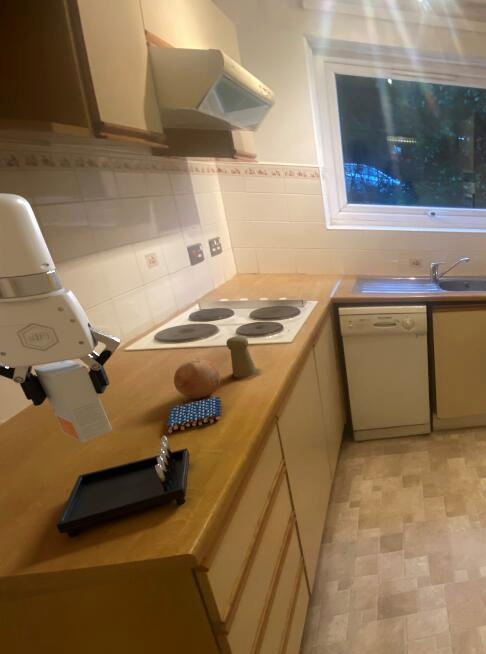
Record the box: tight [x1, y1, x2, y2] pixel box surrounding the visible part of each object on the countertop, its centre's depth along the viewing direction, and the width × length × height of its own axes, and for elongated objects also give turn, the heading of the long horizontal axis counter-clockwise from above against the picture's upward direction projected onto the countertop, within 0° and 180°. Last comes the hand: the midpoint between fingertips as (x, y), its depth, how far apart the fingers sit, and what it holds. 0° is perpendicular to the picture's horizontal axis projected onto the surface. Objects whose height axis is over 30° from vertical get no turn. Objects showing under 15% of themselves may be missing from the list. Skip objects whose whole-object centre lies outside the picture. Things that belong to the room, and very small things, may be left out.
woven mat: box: [165, 396, 222, 434], centre depth 102 cm, size 10×11×2 cm
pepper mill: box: [226, 335, 258, 379], centre depth 123 cm, size 6×6×11 cm
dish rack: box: [55, 435, 190, 538], centre depth 76 cm, size 16×14×8 cm
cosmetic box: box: [33, 360, 113, 444], centre depth 69 cm, size 6×4×12 cm
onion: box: [173, 358, 221, 400], centre depth 110 cm, size 10×10×10 cm
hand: (72, 395), depth 69 cm, fingers closed on cosmetic box, 6 cm apart
